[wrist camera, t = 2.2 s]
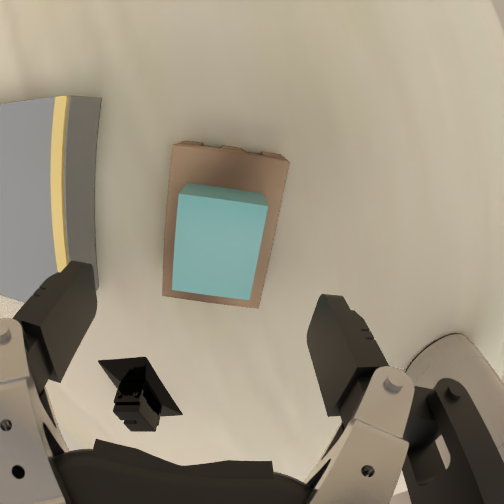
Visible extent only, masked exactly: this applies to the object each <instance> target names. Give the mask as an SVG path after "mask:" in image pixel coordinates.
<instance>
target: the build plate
mask: <svg viewBox="0 0 504 504" xmlns="http://www.w3.org/2000/svg"><path fill="white" fill-rule="evenodd" d="M98 362H99V364H100V365H101V367H102V368H103V369H104V371H105V372H106V374H107V375H108V376H109V378H110V379H111V380H112V382H113V383H114V385H115V386H116V387H117V389H118V390H117V393H116V396H115V399H114V403H115V406H114V409H113V412H114V413H115V414H116V415H117V417H118V418H119V419H120V420H124V424H125V425H126V426H127V428H128V429H129V430H130V431H156V427H157V426H158V425H159V420H160V416H175V415H183V414H182V412H181V411H180V409H179V408H178V406H177V405H176V403H175V402H174V400H173V399H172V397H171V396H170V394H169V393H168V391H167V390H166V388H165V387H164V385H163V384H162V382H161V380H160V379H159V377H158V376H157V374H156V372H155V371H154V369H153V367H152V366H151V364H150V362H149V361H148V359H147V358H146V357H137V358H126V359H113V360H99V361H98Z"/></svg>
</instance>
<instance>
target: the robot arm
mask: <svg viewBox="0 0 504 504" xmlns="http://www.w3.org/2000/svg"><path fill="white" fill-rule="evenodd" d="M96 310H97V297H96V288H95V279H94V269H93V266H92V264H90V263H85V262H79V261H71V262H69V264H68V265H67V266H66V267H65V268H64V269H63V270H62V271H61V272H57V273H55V274H53V275H52V276H50V277H48V278H47V279H46V280H45V281H44V282H43V283H42V284H41V285H40V286H39V288H38V289H37V290H36V291H35V292H34V293H33V295H32V296H31V297H30V298H29V299H28V300H27V301H26V303H25V304H24V305H23V306H22V307H21V309H20V310H19V311H18V312H17V313H16V315H15V316H14V317H13V318H12V319H11V318H2V319H0V504H389V503H390V500H391V497H392V495H393V493H394V490H395V487H396V485H397V482H398V479H399V476H400V473H401V470H402V471H403V475H404V478H405V481H406V485H407V488H408V492H409V495H410V499H411V503H412V504H504V383H503V382H502V380H501V379H500V378H499V376H498V375H497V373H496V372H495V371H494V369H493V368H492V367H491V365H490V364H489V363H488V361H487V360H486V359H485V357H484V356H483V355H482V353H481V352H480V351H479V350H478V348H477V347H476V346H475V345H474V343H471V342H470V341H469V340H468V339H467V338H466V337H465V336H464V335H461V334H453V335H449V336H446V337H444V338H442V339H440V340H438V341H436V342H435V343H433V344H432V345H430V346H429V347H428V348H426V349H425V350H424V351H423V352H422V353H421V354H419V355H418V357H417V358H416V359H415V360H414V361H413V362H412V364H411V365H410V366H409V368H408V370H407V371H406V373H405V372H403V371H402V370H400V369H398V368H395V367H390V366H389V365H388V363H387V361H386V359H385V357H384V355H383V353H382V351H381V350H380V348H379V346H378V344H377V342H376V340H374V337H373V335H372V333H371V331H369V328H368V326H367V324H366V322H365V320H364V319H363V318H362V317H361V316H360V315H358V314H357V313H356V312H355V311H353V310H350V308H349V306H348V304H347V303H346V301H345V299H344V297H343V296H338V295H327V294H322V295H321V296H320V297H319V299H318V302H317V305H316V308H315V311H314V314H313V316H312V319H311V322H310V325H309V328H308V332H307V345H308V348H309V352H310V355H311V359H312V362H313V366H314V369H315V373H316V376H317V379H318V383H319V387H320V390H321V394H322V397H323V401H324V404H325V408H326V411H327V415H328V417H329V416H341V419H342V422H341V424H340V425H339V426H338V428H337V430H336V432H335V434H334V435H333V437H332V439H331V441H330V442H329V444H328V446H327V448H326V449H325V451H324V453H323V454H322V456H321V458H320V459H319V461H318V463H317V464H316V466H315V467H314V469H313V470H312V471H311V473H310V474H309V475H308V476H307V478H306V479H305V480H304V482H301V481H299V480H298V479H295V478H293V477H290V476H288V475H284V474H281V473H277V472H273V466H272V461H231V460H227V461H221V462H214V463H207V464H199V465H190V466H180V465H176V464H173V463H171V462H168V461H165V460H163V459H160V458H158V457H155V456H153V455H150V454H148V453H146V452H143V451H141V450H139V449H136V448H131V447H127V446H122V445H118V444H114V443H110V442H106V441H102V440H98V439H96V441H95V444H94V448H93V449H80V450H74V451H69V449H68V447H67V445H66V443H65V441H64V439H63V437H62V435H61V432H60V429H59V426H58V423H57V421H56V418H55V415H54V412H53V408H52V405H51V402H50V399H49V395H48V392H47V389H46V387H45V385H46V383H47V381H48V379H50V380H53V381H56V382H59V383H61V380H62V378H63V376H64V374H65V372H66V370H67V368H68V366H69V364H70V362H71V360H72V358H73V356H74V354H75V352H76V350H77V348H78V347H79V345H80V343H81V341H82V339H83V337H84V335H85V333H86V332H87V330H88V328H89V326H90V324H91V322H92V321H93V319H94V317H95V314H96Z"/></svg>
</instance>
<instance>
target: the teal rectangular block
mask: <svg viewBox="0 0 504 504" xmlns="http://www.w3.org/2000/svg"><path fill="white" fill-rule="evenodd" d="M267 210H268V204H267V202H266V199H265V196H264V194H263V193H256V192H250V191H243V190H237V189H230V188H223V187H216V186H208V185H201V184H193V183H187V184H186V185H185V187H184V188H183V189H182V190H181V192H180V193H179V198H178V208H177V219H176V232H175V245H174V261H173V279H172V290H176V291H183V292H190V293H197V294H205V295H212V296H220V297H227V298H235V299H243V300H250V295H251V290H252V285H253V280H254V275H255V270H256V265H257V260H258V255H259V250H260V245H261V240H262V235H263V230H264V225H265V220H266V215H267Z"/></svg>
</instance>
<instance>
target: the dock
mask: <svg viewBox="0 0 504 504" xmlns="http://www.w3.org/2000/svg"><path fill="white" fill-rule="evenodd" d="M100 106H101V98H94V97H82V96H57V97H50V98H41V99H32V100H24V101H17V102H11V103H5V104H0V295H2V296H5V297H8V298H11V299H14V300H18V301H21V302H24V303H26V301H27V300H28V299H29V298H30V297H31V296H32V295H33V293H34V292H35V291H36V290H37V289H38V288H39V286H40V285H41V284H42V283H43V282H44V281H45V280H46V279H47V278H48V277H50V276H52V275H53V274H55V273H57V272H61V271H62V270H63V269H64V268H65V267H66V266H67V265H68V264H69V262H71V261H79V262H85V263H90V264H92V266H93V269H94V279H95V288H96V290H97V289H98V287H99V284H98V273H97V261H96V244H95V212H94V194H95V162H96V146H97V134H98V123H99V114H100Z"/></svg>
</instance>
